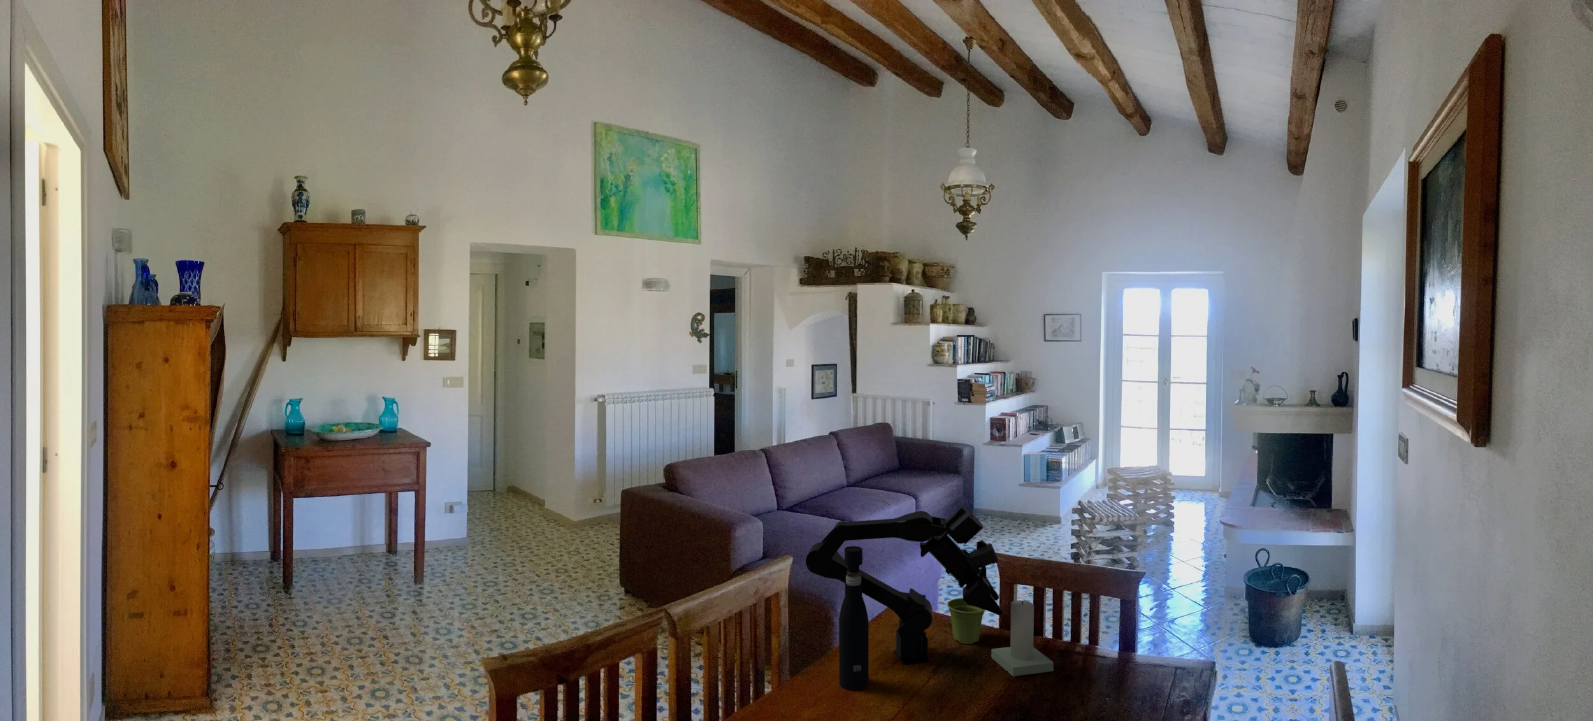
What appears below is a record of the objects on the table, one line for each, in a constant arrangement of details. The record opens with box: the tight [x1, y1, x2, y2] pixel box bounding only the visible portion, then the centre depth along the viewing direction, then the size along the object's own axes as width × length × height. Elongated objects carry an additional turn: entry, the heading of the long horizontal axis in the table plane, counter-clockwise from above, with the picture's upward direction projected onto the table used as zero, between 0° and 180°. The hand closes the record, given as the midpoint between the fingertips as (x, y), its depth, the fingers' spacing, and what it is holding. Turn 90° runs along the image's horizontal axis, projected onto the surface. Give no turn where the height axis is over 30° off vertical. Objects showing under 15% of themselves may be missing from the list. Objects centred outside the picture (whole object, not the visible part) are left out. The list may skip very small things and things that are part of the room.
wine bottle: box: [838, 545, 870, 691], centre depth 178 cm, size 6×6×30 cm
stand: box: [990, 646, 1054, 677], centre depth 188 cm, size 10×10×2 cm
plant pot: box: [946, 597, 986, 645], centre depth 202 cm, size 9×9×9 cm
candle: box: [1010, 599, 1035, 660], centre depth 187 cm, size 5×5×13 cm
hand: (999, 606), depth 188 cm, fingers open, 9 cm apart
